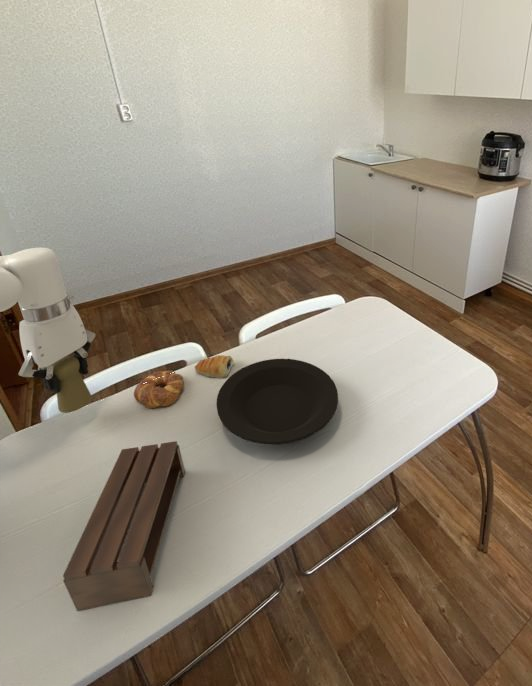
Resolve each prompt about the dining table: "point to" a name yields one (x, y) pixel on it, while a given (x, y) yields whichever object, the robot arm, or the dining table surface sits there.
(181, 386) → the ring bread
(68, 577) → the rack
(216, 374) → the pastry
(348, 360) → the dining table surface
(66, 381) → the olive green shaker
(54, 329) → the robot arm
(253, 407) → the plate
